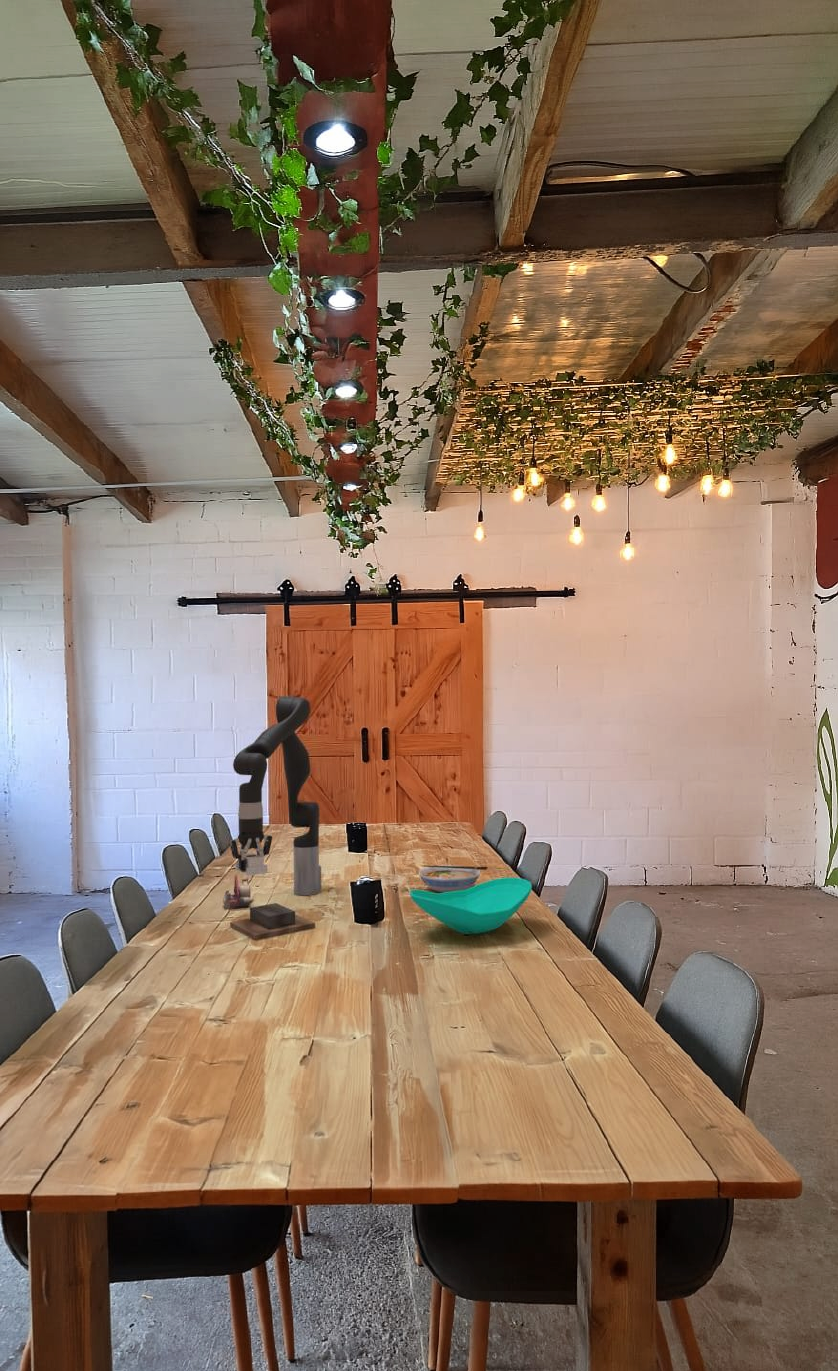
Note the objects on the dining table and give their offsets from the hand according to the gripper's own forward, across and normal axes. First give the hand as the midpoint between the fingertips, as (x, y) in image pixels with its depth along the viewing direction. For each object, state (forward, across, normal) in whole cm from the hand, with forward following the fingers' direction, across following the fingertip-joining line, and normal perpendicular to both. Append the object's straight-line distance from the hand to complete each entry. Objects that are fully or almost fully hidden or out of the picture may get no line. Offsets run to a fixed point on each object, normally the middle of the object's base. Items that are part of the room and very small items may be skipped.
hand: (251, 870), depth 245 cm
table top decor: (+18, +50, -48) cm, 72 cm away
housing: (0, 0, 0) cm, 0 cm away
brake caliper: (+18, +6, +25) cm, 31 cm away
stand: (+17, +4, -6) cm, 19 cm away
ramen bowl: (+18, +75, -6) cm, 77 cm away
